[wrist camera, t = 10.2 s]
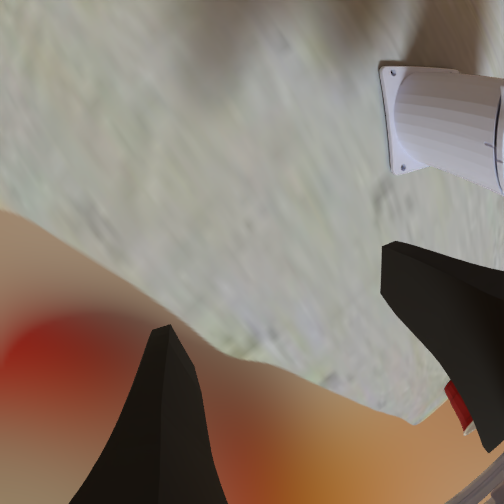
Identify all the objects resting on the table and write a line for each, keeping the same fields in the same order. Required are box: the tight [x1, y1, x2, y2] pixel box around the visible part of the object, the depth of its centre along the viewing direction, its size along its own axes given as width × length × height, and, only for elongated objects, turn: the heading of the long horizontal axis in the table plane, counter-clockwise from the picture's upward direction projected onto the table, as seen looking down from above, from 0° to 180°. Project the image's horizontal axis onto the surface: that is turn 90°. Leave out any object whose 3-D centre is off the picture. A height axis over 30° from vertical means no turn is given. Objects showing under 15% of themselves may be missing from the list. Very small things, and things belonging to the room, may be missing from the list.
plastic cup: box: [444, 380, 476, 436], centre depth 41 cm, size 11×11×12 cm
